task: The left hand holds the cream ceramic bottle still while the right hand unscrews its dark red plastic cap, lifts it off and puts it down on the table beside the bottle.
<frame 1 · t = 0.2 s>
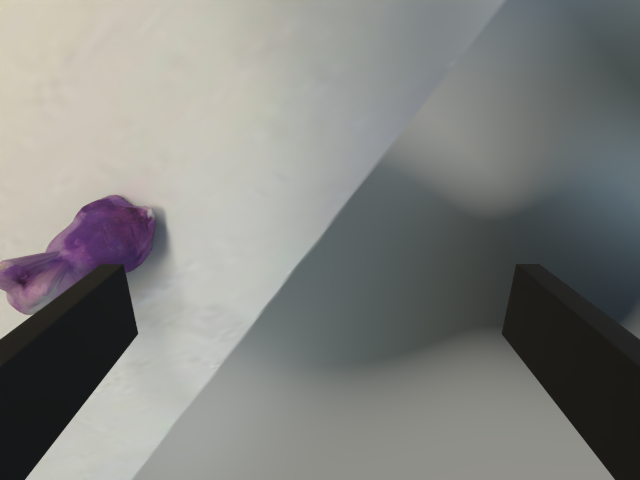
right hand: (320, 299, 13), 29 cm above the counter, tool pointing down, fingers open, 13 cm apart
figurine: (119, 235, 43), on the counter
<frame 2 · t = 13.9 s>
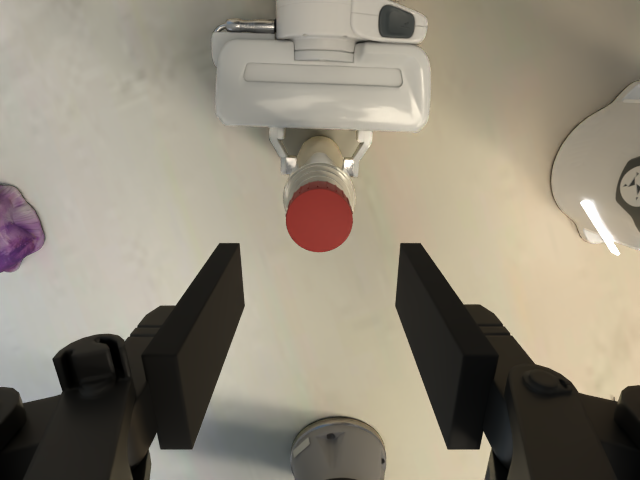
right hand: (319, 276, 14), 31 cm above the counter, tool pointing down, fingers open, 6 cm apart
left hand: (319, 175, 38), fingers closed on bottle, 5 cm apart
figurine: (9, 218, 46), on the counter
bottle: (319, 157, 44), on the counter, touching left hand
cap: (319, 219, 21), point 24 cm above the counter, screwed on, not yet turned
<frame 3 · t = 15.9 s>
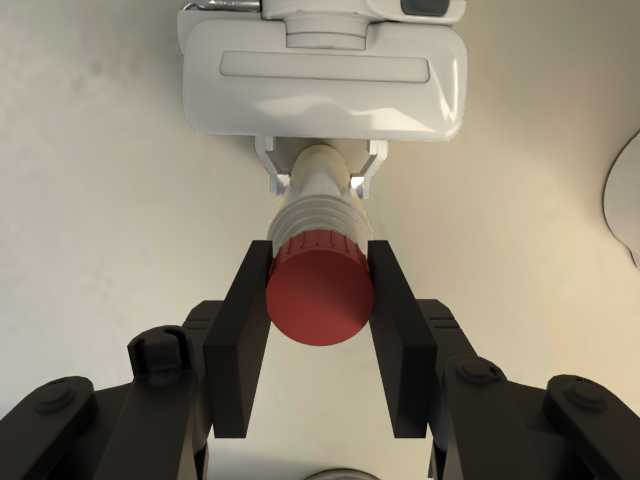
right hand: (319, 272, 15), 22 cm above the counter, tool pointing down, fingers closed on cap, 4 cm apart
left hand: (320, 195, 30), fingers closed on bottle, 5 cm apart
bottle: (320, 171, 35), on the counter, touching left hand
cap: (319, 296, 13), point 24 cm above the counter, screwed on, not yet turned, touching right hand
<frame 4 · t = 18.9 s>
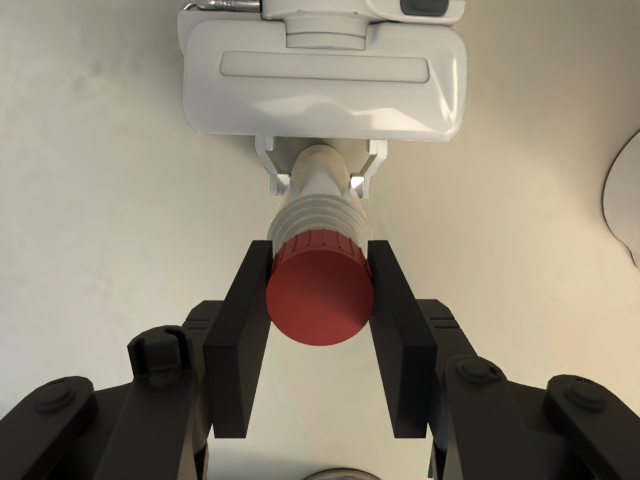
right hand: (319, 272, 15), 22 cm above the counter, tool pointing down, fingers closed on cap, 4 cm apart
left hand: (320, 195, 30), fingers closed on bottle, 5 cm apart
bottle: (320, 170, 35), on the counter, touching left hand
cap: (320, 296, 13), point 24 cm above the counter, turned 91° so far, risen 0.1 cm, still on its thread, touching right hand
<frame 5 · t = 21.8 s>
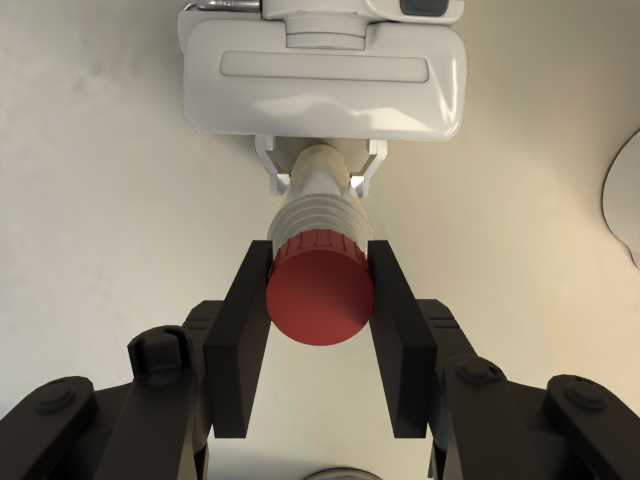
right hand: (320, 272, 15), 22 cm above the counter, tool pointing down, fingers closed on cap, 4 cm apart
left hand: (320, 194, 30), fingers closed on bottle, 5 cm apart
bottle: (320, 170, 36), on the counter, touching left hand
cap: (320, 296, 13), point 24 cm above the counter, turned 183° so far, risen 0.1 cm, still on its thread, touching right hand
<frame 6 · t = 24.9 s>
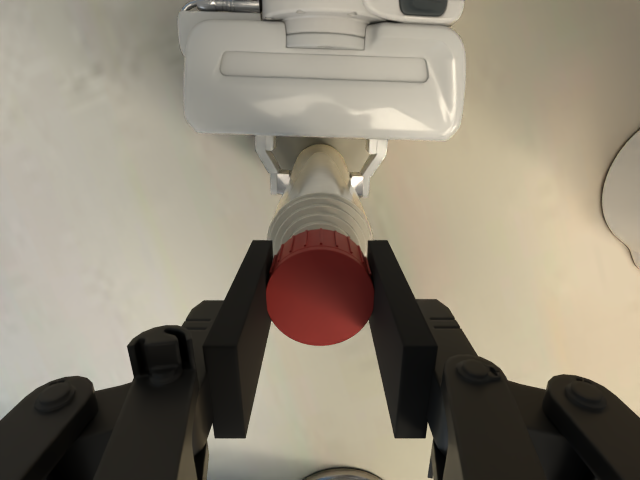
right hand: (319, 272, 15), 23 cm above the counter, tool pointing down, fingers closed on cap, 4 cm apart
left hand: (320, 194, 30), fingers closed on bottle, 5 cm apart
bottle: (319, 170, 36), on the counter, touching left hand
cap: (320, 296, 13), point 24 cm above the counter, turned 274° so far, risen 0.2 cm, still on its thread, touching right hand
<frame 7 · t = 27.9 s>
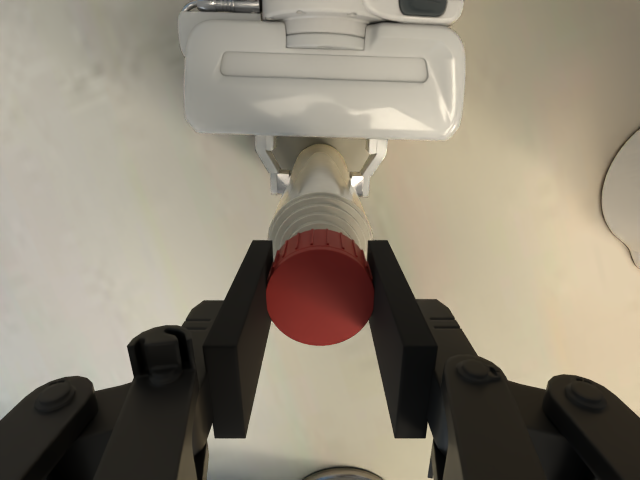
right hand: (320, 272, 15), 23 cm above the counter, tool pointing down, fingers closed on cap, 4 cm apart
left hand: (320, 194, 30), fingers closed on bottle, 5 cm apart
bottle: (320, 170, 36), on the counter, touching left hand
cap: (320, 295, 13), point 24 cm above the counter, turned 366° so far, risen 0.3 cm, still on its thread, touching right hand
when the right hand's fingers open (2 cm above the counter, at t = 38.0 s): cap drops 2 cm, point 2 cm above the counter.
when the left hand's fingers open (6 cm above the counter, at t = 39.3 s): bottle stays where it is, on the counter.
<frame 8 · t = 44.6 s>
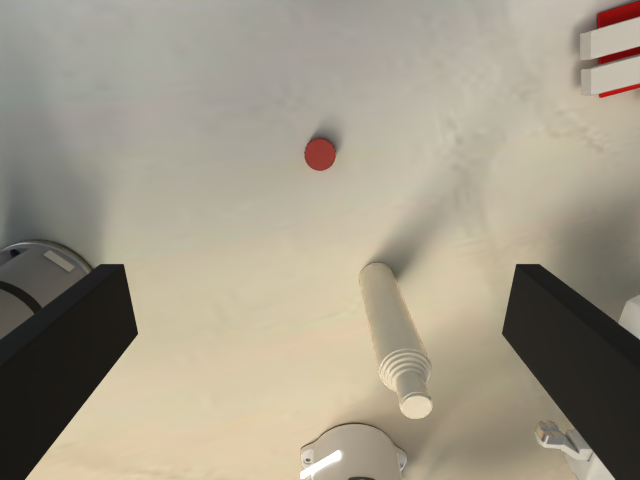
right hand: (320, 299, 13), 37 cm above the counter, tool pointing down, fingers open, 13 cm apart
bottle: (376, 278, 53), on the counter
cap: (320, 155, 45), point 2 cm above the counter, off its thread
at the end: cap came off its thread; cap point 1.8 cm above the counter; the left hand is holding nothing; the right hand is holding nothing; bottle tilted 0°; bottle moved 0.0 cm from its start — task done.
